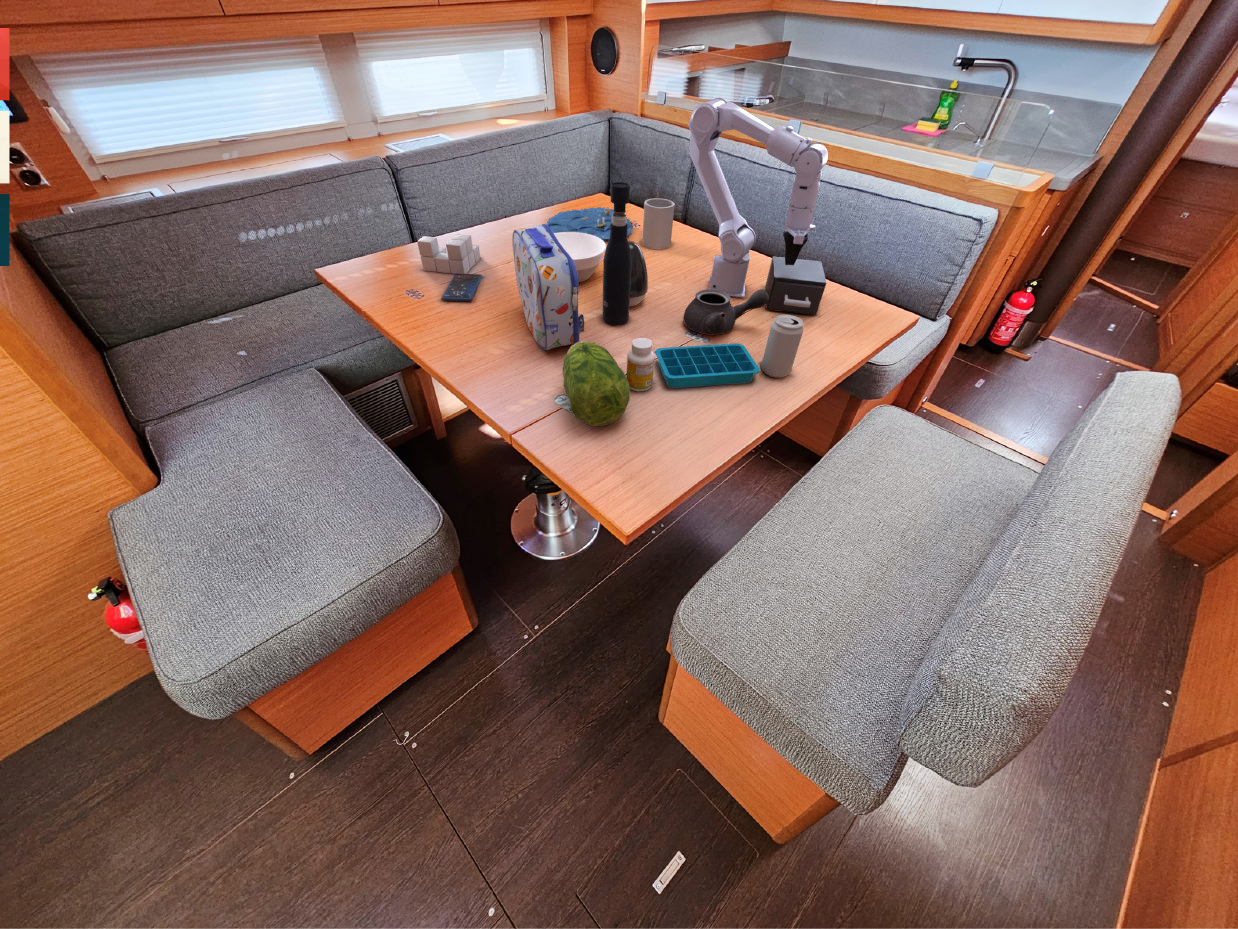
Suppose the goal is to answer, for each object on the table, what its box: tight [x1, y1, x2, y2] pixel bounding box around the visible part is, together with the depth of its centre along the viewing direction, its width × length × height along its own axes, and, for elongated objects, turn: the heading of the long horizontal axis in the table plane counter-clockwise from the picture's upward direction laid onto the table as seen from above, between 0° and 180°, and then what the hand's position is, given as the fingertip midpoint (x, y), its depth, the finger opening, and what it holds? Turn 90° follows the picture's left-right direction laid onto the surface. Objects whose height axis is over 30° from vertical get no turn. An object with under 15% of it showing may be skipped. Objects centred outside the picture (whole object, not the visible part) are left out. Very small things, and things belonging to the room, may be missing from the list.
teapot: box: [683, 288, 769, 336], centre depth 120 cm, size 19×15×10 cm
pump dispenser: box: [628, 240, 649, 307], centre depth 127 cm, size 10×10×15 cm
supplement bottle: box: [625, 337, 656, 392], centre depth 102 cm, size 5×5×10 cm
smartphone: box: [440, 273, 483, 302], centre depth 134 cm, size 8×1×15 cm
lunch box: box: [512, 223, 585, 351], centre depth 113 cm, size 28×10×22 cm, turn 22°
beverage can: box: [760, 313, 805, 379], centre depth 107 cm, size 6×6×12 cm
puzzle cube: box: [416, 233, 482, 275], centre depth 142 cm, size 12×12×8 cm
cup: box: [641, 197, 676, 250], centre depth 158 cm, size 9×9×12 cm
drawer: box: [769, 281, 823, 314], centre depth 130 cm, size 17×11×7 cm
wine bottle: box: [601, 181, 632, 327], centre depth 115 cm, size 6×6×30 cm
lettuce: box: [562, 340, 631, 427], centre depth 97 cm, size 12×21×11 cm, turn 16°
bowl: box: [554, 231, 607, 283], centre depth 140 cm, size 19×19×8 cm
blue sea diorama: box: [546, 206, 634, 240], centre depth 169 cm, size 30×30×5 cm
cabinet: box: [764, 255, 827, 316], centre depth 133 cm, size 14×13×9 cm
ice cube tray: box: [654, 342, 761, 389], centre depth 109 cm, size 12×20×3 cm, turn 100°
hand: (789, 264), depth 128 cm, fingers closed
